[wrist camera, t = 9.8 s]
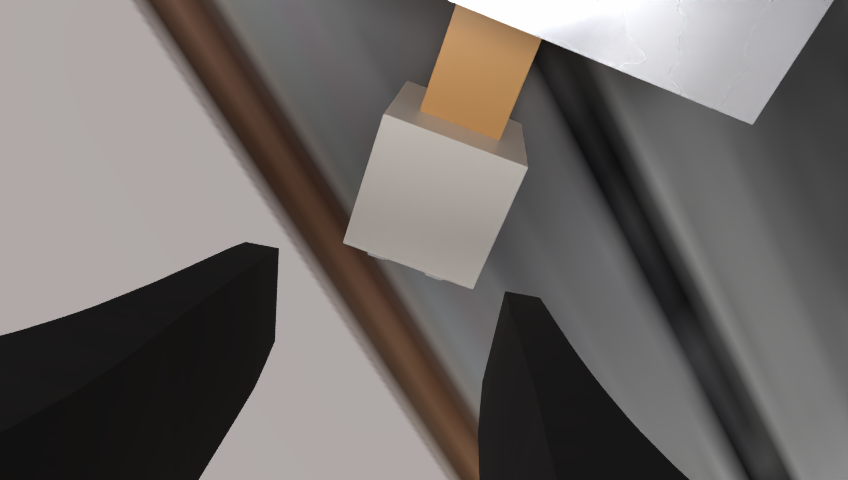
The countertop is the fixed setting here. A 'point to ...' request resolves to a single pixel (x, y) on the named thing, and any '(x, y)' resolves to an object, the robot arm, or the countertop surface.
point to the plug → (448, 155)
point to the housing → (677, 41)
